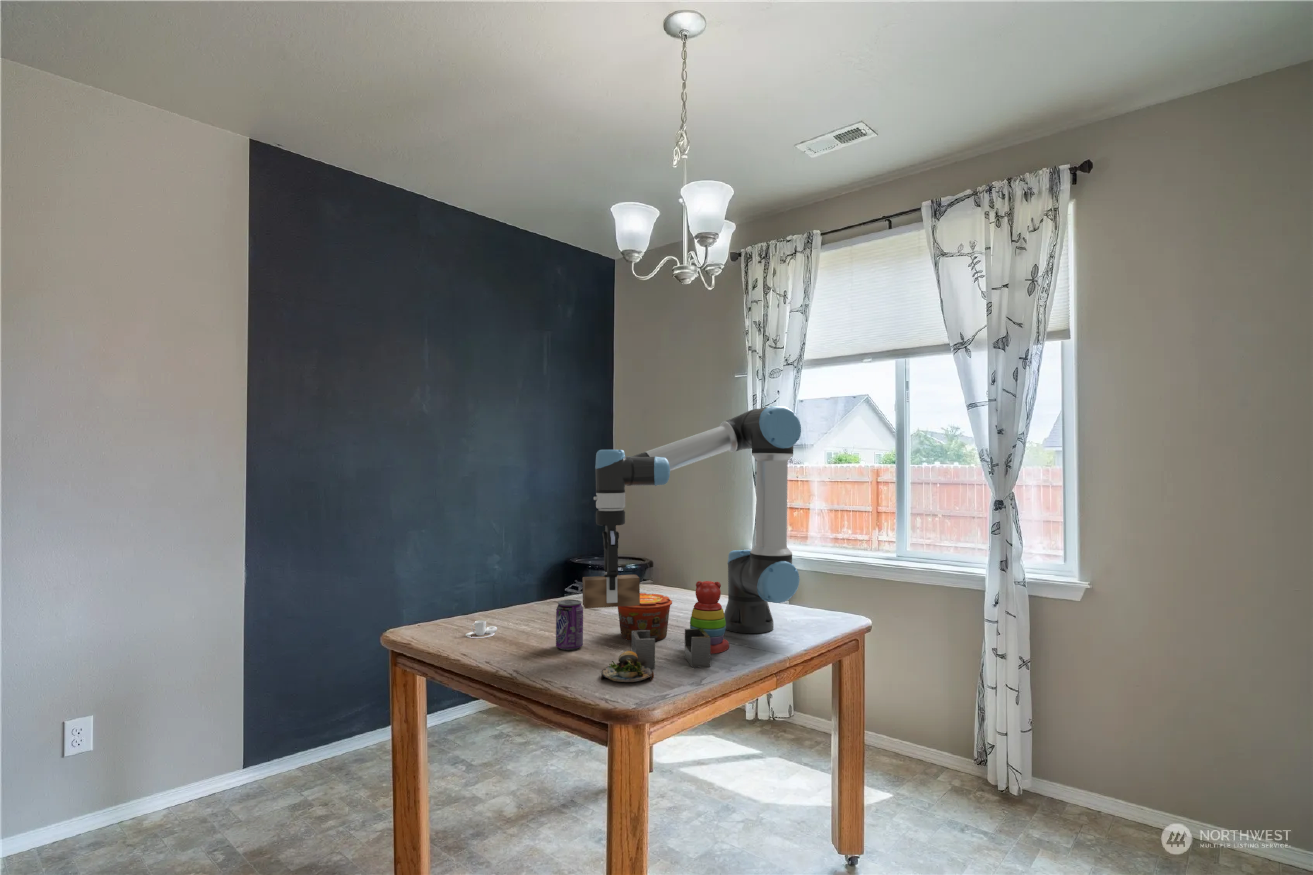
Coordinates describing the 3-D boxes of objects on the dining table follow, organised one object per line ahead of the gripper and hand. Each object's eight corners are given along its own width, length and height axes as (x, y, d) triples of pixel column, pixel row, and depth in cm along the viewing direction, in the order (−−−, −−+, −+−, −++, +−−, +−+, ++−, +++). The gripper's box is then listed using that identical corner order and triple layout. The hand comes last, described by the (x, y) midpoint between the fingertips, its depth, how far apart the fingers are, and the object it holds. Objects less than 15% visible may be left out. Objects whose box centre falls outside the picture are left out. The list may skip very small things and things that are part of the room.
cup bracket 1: (636, 669, 163) (636, 639, 163) (631, 658, 172) (631, 630, 172) (654, 669, 164) (654, 639, 164) (649, 658, 173) (649, 630, 173)
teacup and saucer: (496, 631, 200) (496, 617, 200) (498, 638, 193) (498, 623, 193) (464, 633, 198) (465, 619, 198) (466, 640, 190) (466, 625, 190)
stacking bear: (729, 644, 186) (729, 578, 186) (727, 655, 176) (727, 585, 176) (689, 642, 187) (690, 576, 188) (685, 653, 177) (685, 583, 178)
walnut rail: (635, 601, 181) (635, 574, 181) (639, 605, 176) (639, 577, 176) (582, 604, 178) (582, 577, 178) (585, 608, 173) (584, 580, 173)
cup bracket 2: (702, 656, 175) (702, 628, 175) (710, 666, 166) (710, 637, 166) (684, 656, 174) (684, 628, 174) (692, 667, 165) (692, 638, 165)
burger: (591, 683, 154) (592, 649, 154) (615, 668, 165) (616, 637, 165) (640, 690, 149) (640, 655, 150) (662, 675, 160) (662, 642, 160)
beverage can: (552, 645, 184) (553, 600, 184) (578, 643, 187) (578, 598, 187) (559, 652, 177) (560, 605, 178) (586, 649, 180) (586, 603, 180)
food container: (623, 646, 184) (624, 605, 184) (609, 631, 199) (609, 594, 199) (680, 641, 189) (680, 601, 189) (661, 627, 204) (661, 591, 204)
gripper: (593, 507, 186) (594, 593, 185) (598, 512, 168) (598, 608, 167) (621, 506, 187) (621, 592, 187) (629, 511, 169) (629, 607, 169)
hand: (611, 599), depth 177 cm, fingers closed on walnut rail, 5 cm apart
